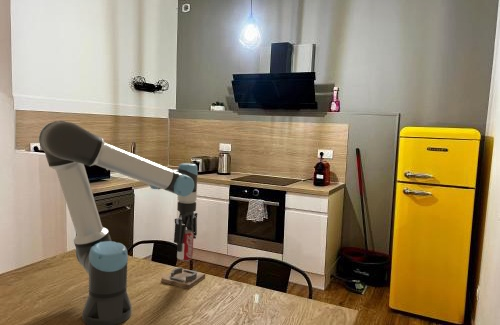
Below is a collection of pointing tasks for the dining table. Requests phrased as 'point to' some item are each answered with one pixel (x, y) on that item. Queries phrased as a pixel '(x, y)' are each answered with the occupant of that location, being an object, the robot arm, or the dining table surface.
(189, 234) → the beverage can
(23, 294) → the dining table surface
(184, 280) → the socket board
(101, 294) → the robot arm
